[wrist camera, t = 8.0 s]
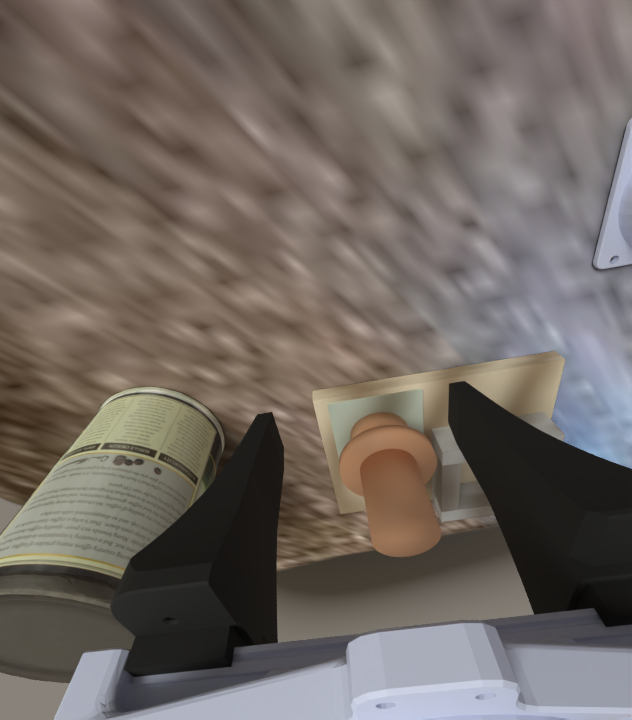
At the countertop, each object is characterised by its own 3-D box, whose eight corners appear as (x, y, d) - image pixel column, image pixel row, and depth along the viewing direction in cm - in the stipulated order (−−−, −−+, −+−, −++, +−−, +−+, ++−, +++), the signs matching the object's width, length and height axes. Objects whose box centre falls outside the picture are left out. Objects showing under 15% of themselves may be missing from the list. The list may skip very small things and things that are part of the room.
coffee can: (243, 464, 30) (202, 671, 18) (138, 485, 31) (33, 693, 19) (194, 371, 25) (90, 577, 13) (69, 400, 26) (-135, 614, 14)
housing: (554, 350, 25) (591, 379, 22) (527, 476, 32) (551, 512, 29) (312, 390, 26) (313, 423, 23) (339, 502, 33) (342, 539, 30)
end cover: (434, 405, 25) (485, 505, 18) (408, 467, 29) (442, 571, 22) (345, 396, 25) (361, 496, 17) (329, 460, 28) (338, 566, 21)
